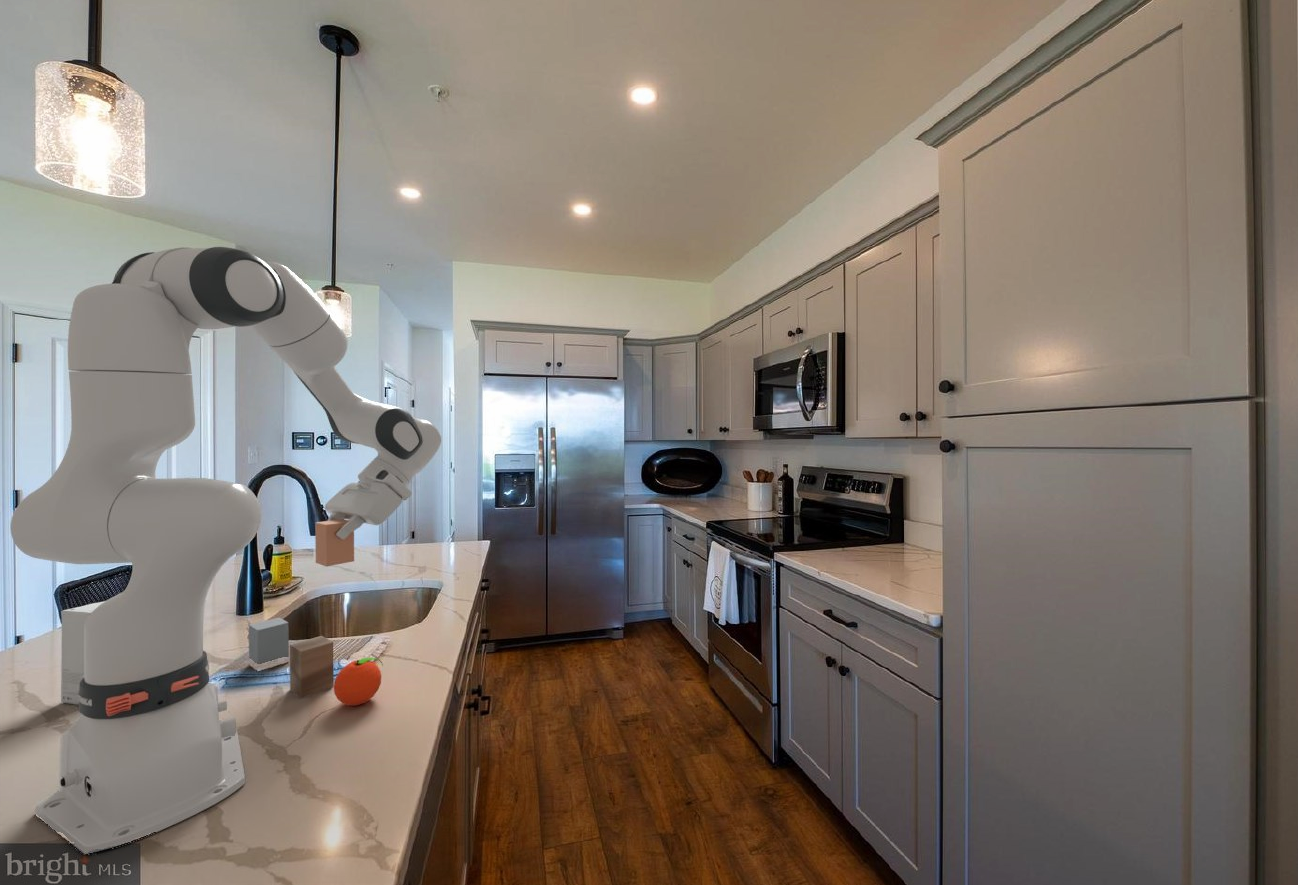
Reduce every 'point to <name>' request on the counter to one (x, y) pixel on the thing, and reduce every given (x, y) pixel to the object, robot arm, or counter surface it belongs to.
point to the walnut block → (311, 666)
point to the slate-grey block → (268, 640)
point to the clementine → (357, 682)
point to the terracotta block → (333, 543)
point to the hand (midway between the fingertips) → (331, 535)
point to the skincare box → (73, 650)
